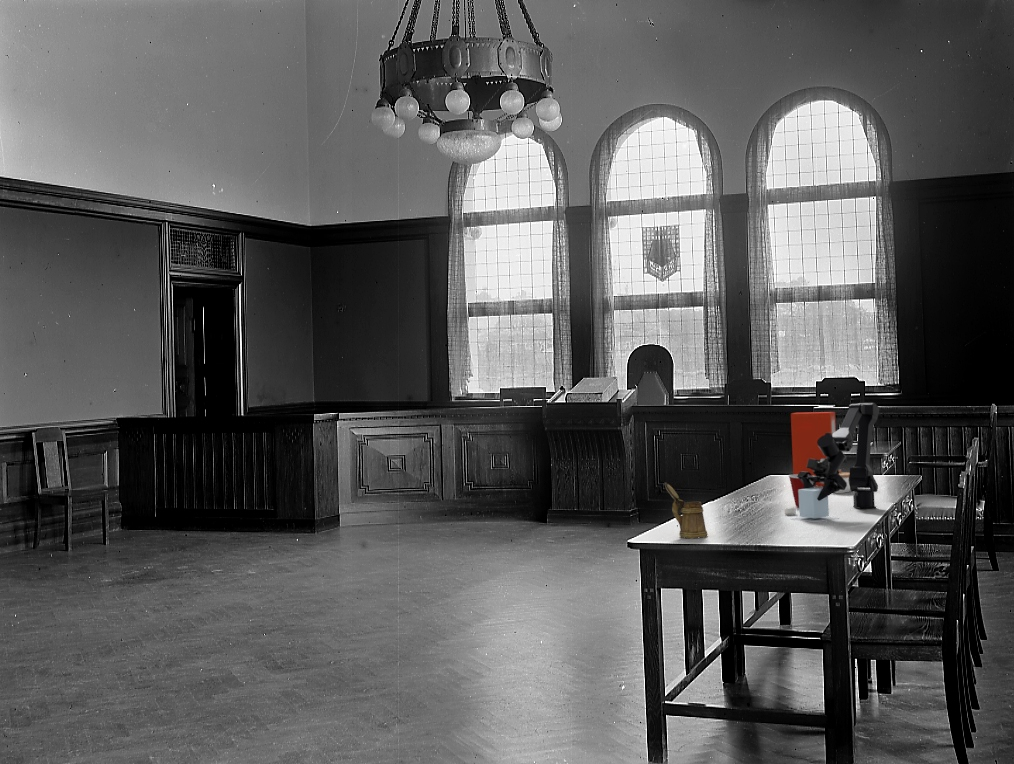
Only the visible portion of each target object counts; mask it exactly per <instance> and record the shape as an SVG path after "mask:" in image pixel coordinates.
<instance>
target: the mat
mask: <svg viewBox="0 0 1014 764" xmlns="http://www.w3.org/2000/svg"><path fill="white" fill-rule="evenodd" d="M839 519H840V517H833V516H832V517H831V516H826V517H820V518H807V517H800V516H799V517H793V518H791V520H793V521H800V522H801V521H802V522H807V523H808V522H809V523H820V522H826V521H832V520H839Z"/></svg>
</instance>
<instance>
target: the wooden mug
mask: <svg viewBox="0 0 1014 764" xmlns="http://www.w3.org/2000/svg"><path fill="white" fill-rule="evenodd" d="M664 487H665V489H666V491H667V492H668V494H669V495H670V496H671V498H672V499H673V500H674V501H673V502H672V507H671V510H672V515H673V516H674V518H675V519H676V521H677V523H678V525H679V529H680V530H679V536H681V537H680V538H682V537H686V538H685V539H690V538H694V539H698V538H697V537H704V538H706V537H705V536H707V535H708V531H707V530H706V529H707V528H706V523H705V518H704V507H703V506H702V502H701V501H689V502H685V501H684V500H682V499H680V497H679V495H678V493H677V491H676V490H675V489H674V488H673V487H672V485H670V484H669V483H667V482H664ZM680 508H681V509H680ZM679 509H680V512H681V515H680V514H679V512H678V511H679ZM707 537H708V536H707Z"/></svg>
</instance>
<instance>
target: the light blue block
mask: <svg viewBox="0 0 1014 764" xmlns="http://www.w3.org/2000/svg"><path fill="white" fill-rule="evenodd" d="M822 488H823V487H822ZM822 488H821V487H815V488H806V489H799V490H798V494H799V507H798V508H799V509H798V511H799V512H798V513H799V517H807V518H820V517H830V515H829V514H830V511H829V496H827V497H825V498H823V499H822V500H820V501H819V500H818V499H817V498H818V496H819V494H820V492H821V490H822Z"/></svg>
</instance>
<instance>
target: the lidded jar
mask: <svg viewBox="0 0 1014 764" xmlns="http://www.w3.org/2000/svg"><path fill="white" fill-rule="evenodd" d="M838 471H839V472H840V473H839V474H840V475H841V476H842V478H843V479H844V480H845V481H846V482H847V486H846V488H845V490H839V491H836V494H844V493H843V492H848V493H850V492H851V490H850V485H849V475H850V471H849V472H844V471H842V469H838Z"/></svg>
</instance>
